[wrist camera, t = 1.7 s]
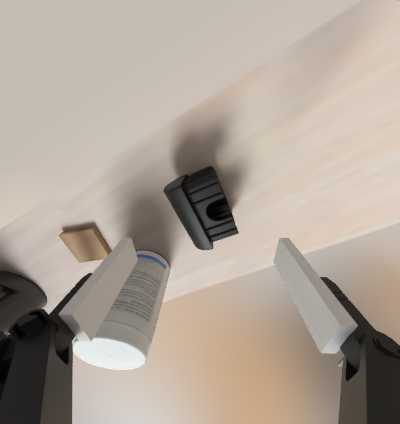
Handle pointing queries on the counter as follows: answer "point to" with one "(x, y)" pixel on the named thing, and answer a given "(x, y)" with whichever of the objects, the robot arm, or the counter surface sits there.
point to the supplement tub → (129, 318)
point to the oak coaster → (86, 244)
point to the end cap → (202, 207)
